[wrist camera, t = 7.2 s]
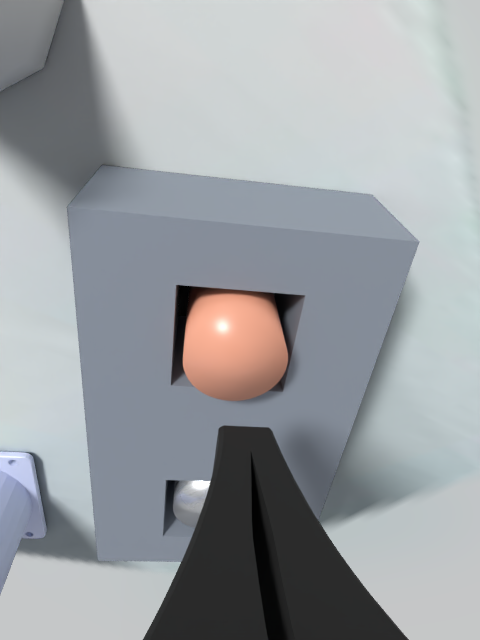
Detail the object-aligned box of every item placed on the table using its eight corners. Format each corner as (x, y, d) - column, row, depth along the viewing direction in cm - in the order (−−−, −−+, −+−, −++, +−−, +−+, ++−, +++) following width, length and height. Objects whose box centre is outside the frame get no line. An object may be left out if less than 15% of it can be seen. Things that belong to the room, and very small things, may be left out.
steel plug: (177, 457, 26) (171, 528, 22) (180, 412, 24) (174, 482, 20) (237, 459, 26) (242, 530, 23) (245, 416, 25) (251, 485, 21)
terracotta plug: (185, 328, 20) (179, 398, 16) (191, 254, 18) (185, 313, 14) (265, 334, 20) (278, 403, 16) (279, 262, 18) (297, 321, 14)
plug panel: (114, 480, 27) (97, 560, 23) (101, 164, 17) (66, 206, 13) (289, 485, 29) (302, 563, 24) (372, 194, 19) (419, 241, 14)
